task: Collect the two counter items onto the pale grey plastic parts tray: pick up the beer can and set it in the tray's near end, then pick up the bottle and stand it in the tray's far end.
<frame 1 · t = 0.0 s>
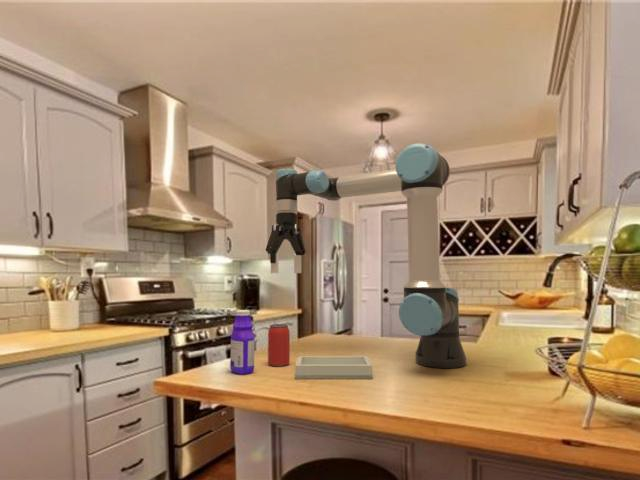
hand: (286, 273, 144), 28 cm above the counter, fingers open, 13 cm apart
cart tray: (333, 373, 115), on the counter
bottle: (242, 372, 117), on the counter
beer can: (278, 365, 126), on the counter
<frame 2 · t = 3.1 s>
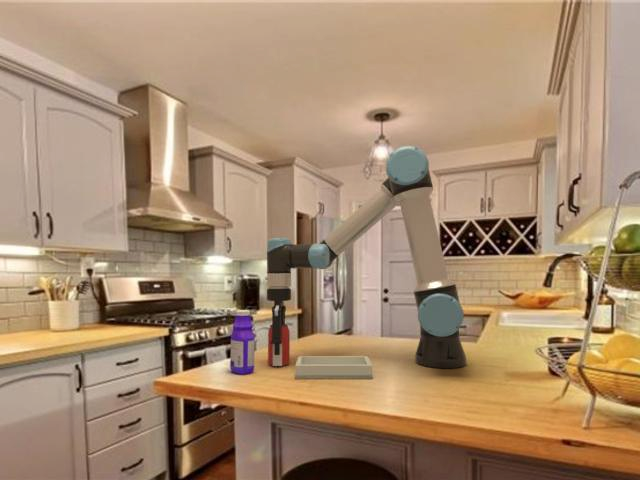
hand: (278, 362, 126), 1 cm above the counter, fingers closed on beer can, 6 cm apart
beer can: (278, 365, 126), on the counter, touching gripper
everything else where it was.
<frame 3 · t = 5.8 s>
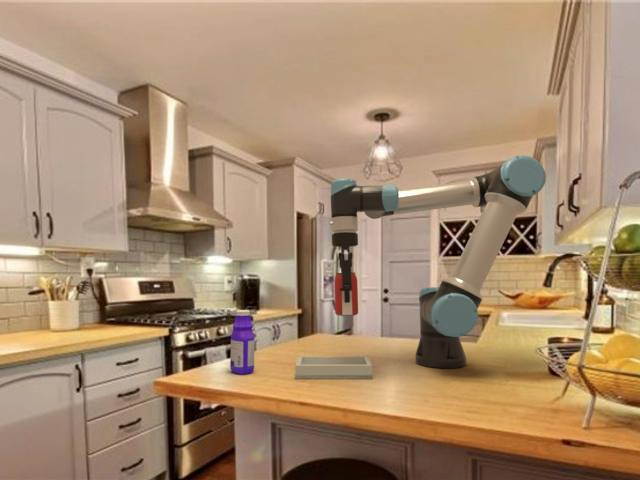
hand: (346, 313, 116), 17 cm above the counter, fingers closed on beer can, 6 cm apart
beer can: (346, 315, 116), point 16 cm above the counter, touching gripper
everything else where it was.
when the fingers open (4 cm above the counter, at t = 8.7 s): beer can drops 3 cm, resting on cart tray.
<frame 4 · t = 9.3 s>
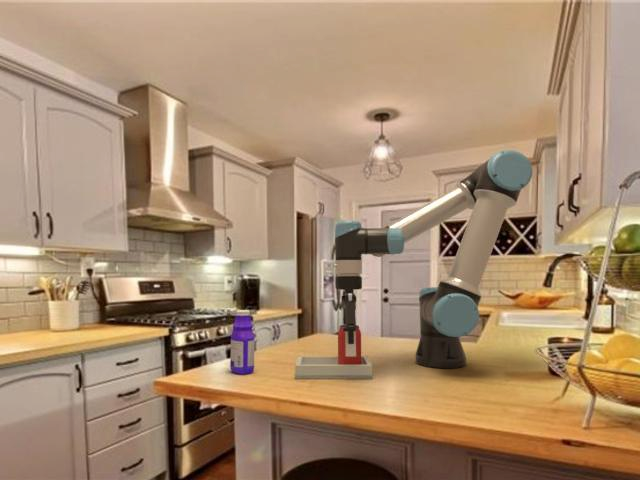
hand: (349, 351, 115), 6 cm above the counter, fingers open, 13 cm apart
beer can: (349, 370, 115), point 1 cm above the counter, touching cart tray
everything else where it was.
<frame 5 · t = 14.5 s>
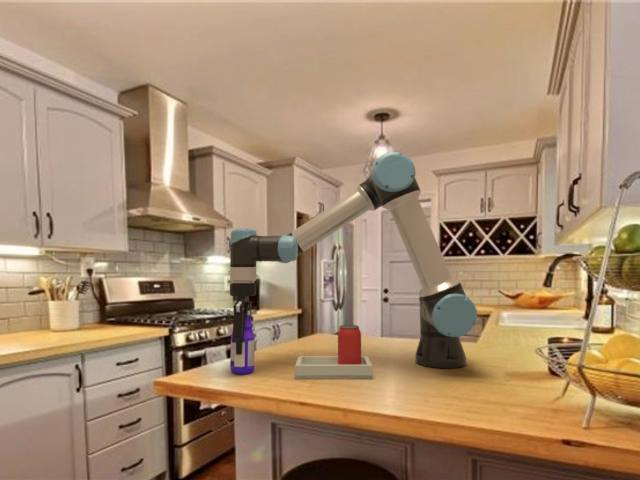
hand: (242, 363, 117), 3 cm above the counter, fingers closed on bottle, 7 cm apart
bottle: (242, 372, 117), on the counter, touching gripper
everything else where it was.
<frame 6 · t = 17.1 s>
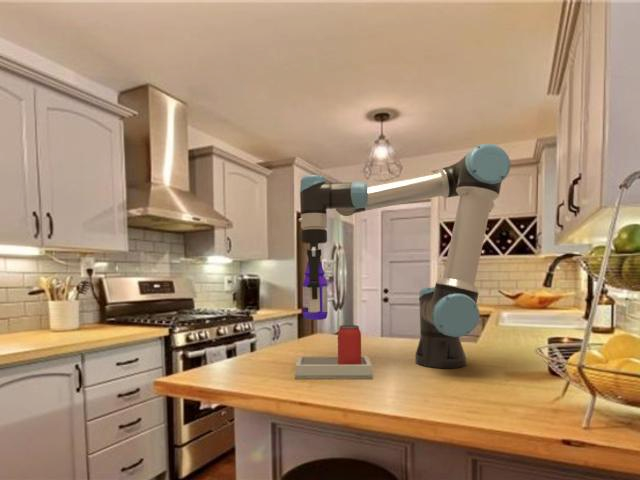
hand: (315, 310, 116), 18 cm above the counter, fingers closed on bottle, 7 cm apart
bottle: (315, 319, 116), point 15 cm above the counter, touching gripper
everything else where it was.
when the fingers open (4 cm above the counter, at t = 20.1 s): bottle stays where it is, resting on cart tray.
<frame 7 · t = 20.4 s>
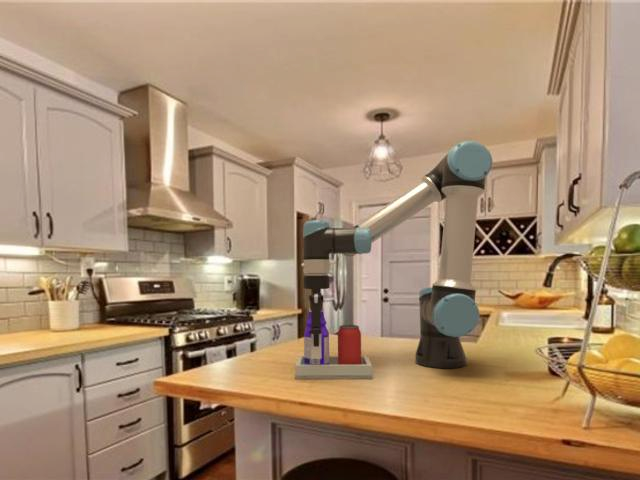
hand: (316, 354, 115), 5 cm above the counter, fingers open, 10 cm apart
bottle: (317, 370, 114), point 1 cm above the counter, touching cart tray
everything else where it was.
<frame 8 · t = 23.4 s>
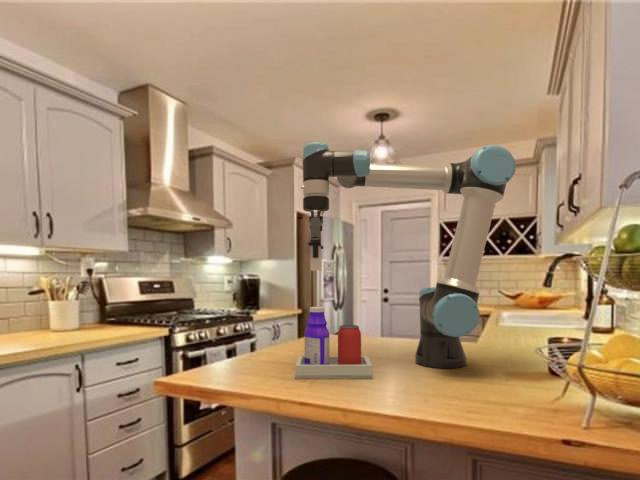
hand: (316, 270, 117), 29 cm above the counter, fingers open, 13 cm apart
nothing on the counter moved.
at the end: beer can inside the target area (0.0 cm from its centre), point 0.8 cm above the counter; bottle inside the target area (0.1 cm from its centre), point 0.8 cm above the counter; bottle tilted 0° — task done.
